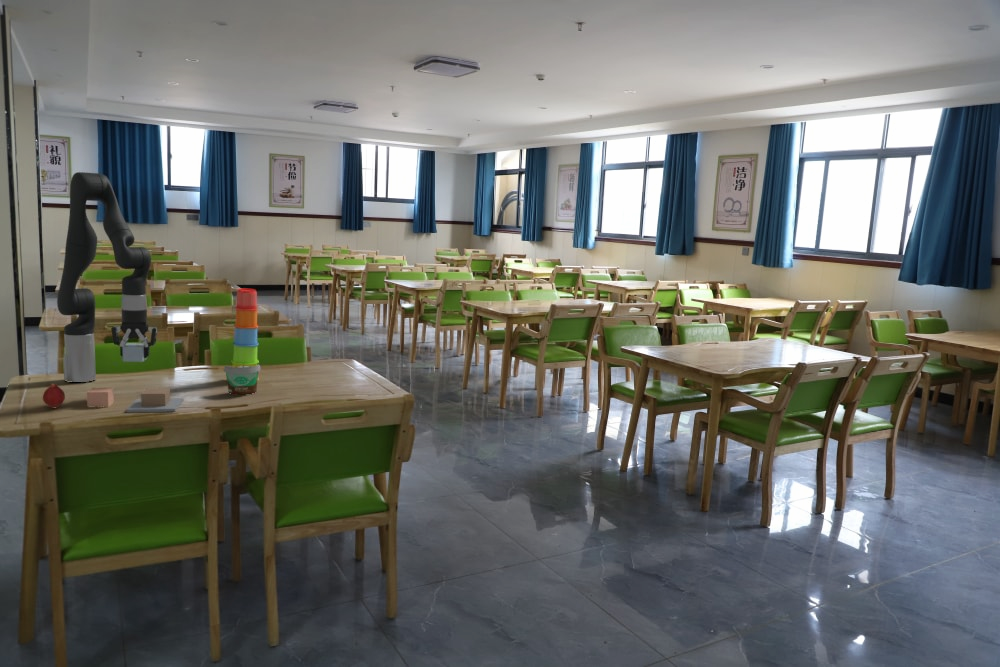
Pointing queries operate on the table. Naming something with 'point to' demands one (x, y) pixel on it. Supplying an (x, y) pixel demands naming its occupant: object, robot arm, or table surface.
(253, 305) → the stacking cups
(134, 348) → the brick
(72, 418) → the table surface
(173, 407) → the tower base
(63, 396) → the onion
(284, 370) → the table surface
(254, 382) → the food container
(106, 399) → the brick
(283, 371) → the table surface
